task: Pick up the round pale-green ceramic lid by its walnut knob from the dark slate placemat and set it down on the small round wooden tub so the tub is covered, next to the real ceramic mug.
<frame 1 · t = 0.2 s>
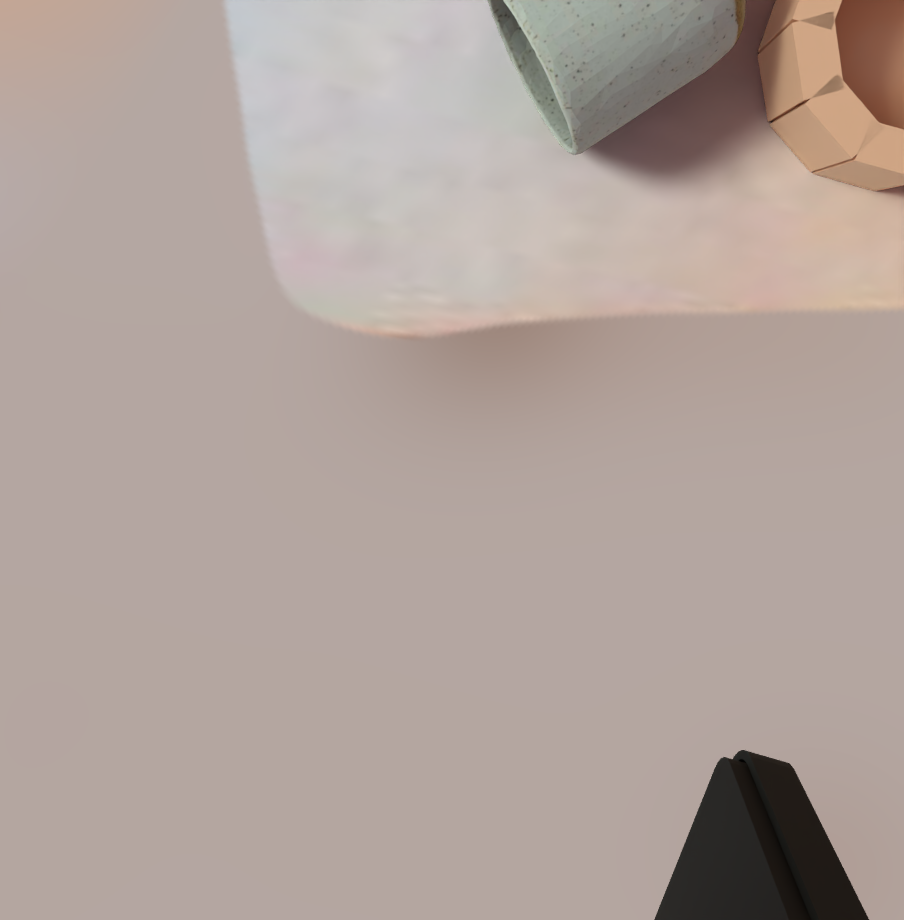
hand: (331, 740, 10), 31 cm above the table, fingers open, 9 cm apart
ceramic mug: (585, 19, 36), on the table
round wooden tub: (894, 51, 35), on the table
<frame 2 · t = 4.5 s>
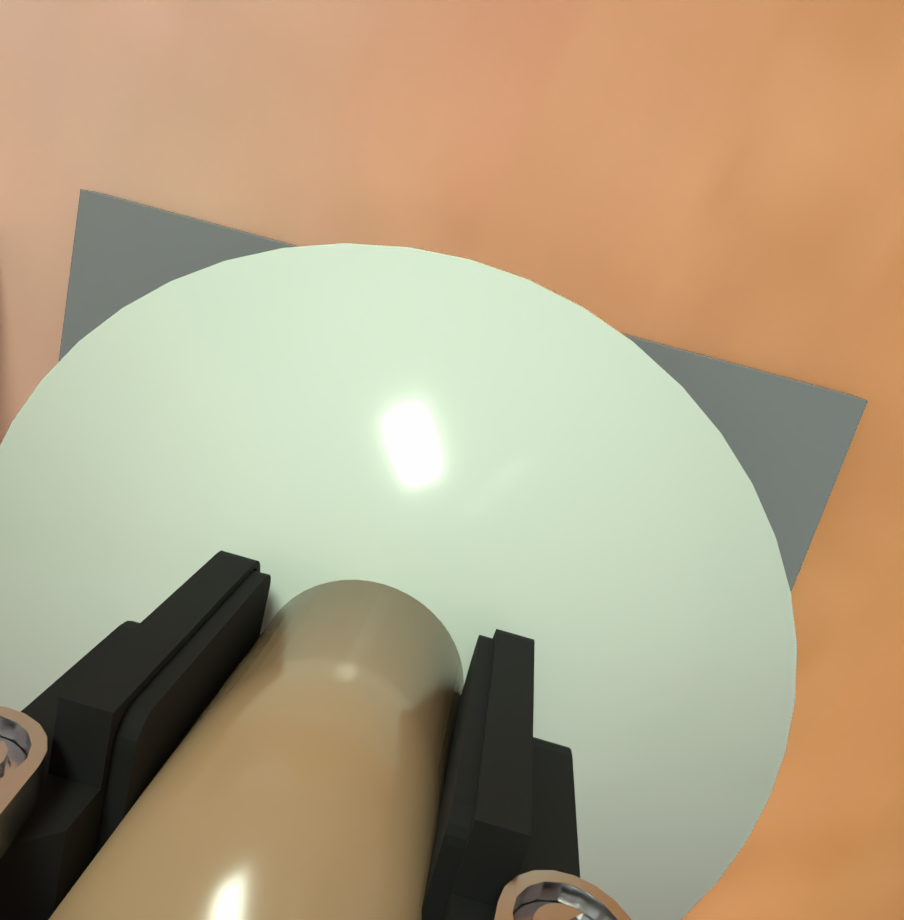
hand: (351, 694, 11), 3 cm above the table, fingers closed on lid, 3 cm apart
lid: (383, 622, 13), resting on placemat, touching gripper
placemat: (386, 612, 14), on the table
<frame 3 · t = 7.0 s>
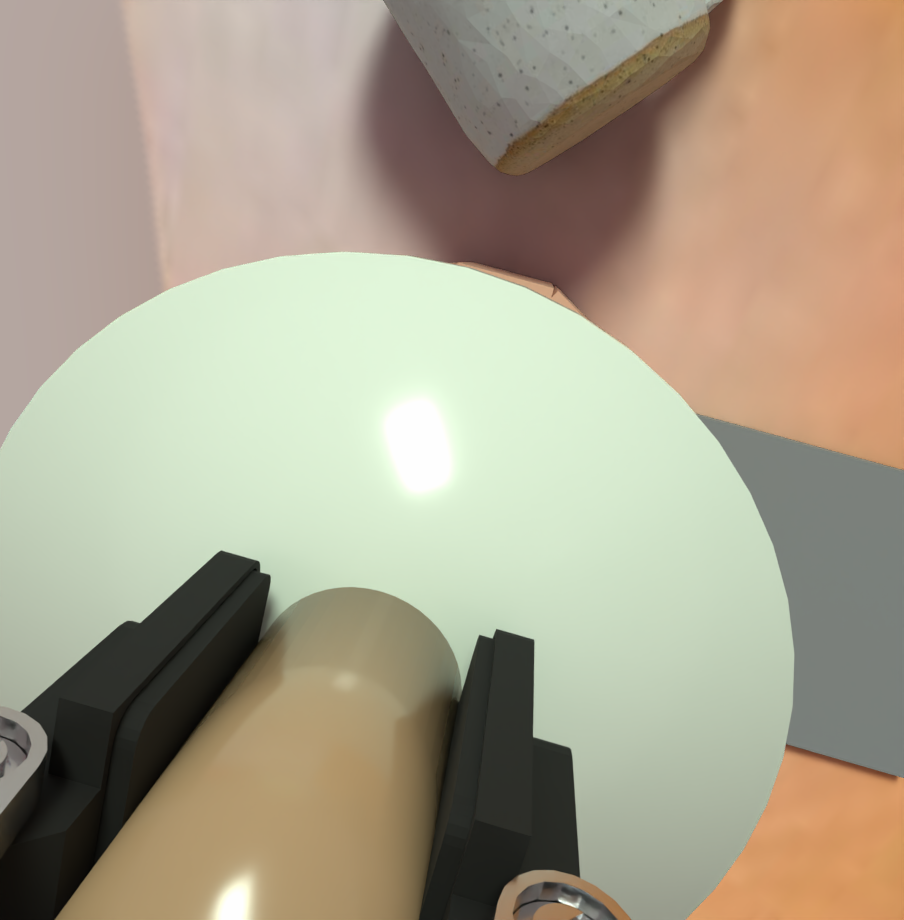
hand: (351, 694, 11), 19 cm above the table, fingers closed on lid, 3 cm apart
lid: (381, 628, 13), point 16 cm above the table, touching gripper
placemat: (795, 598, 29), on the table
round wooden tub: (471, 424, 29), on the table
when the fingers open (7 cm above the table, at t = 9.6 s): lid stays where it is, resting on round wooden tub.
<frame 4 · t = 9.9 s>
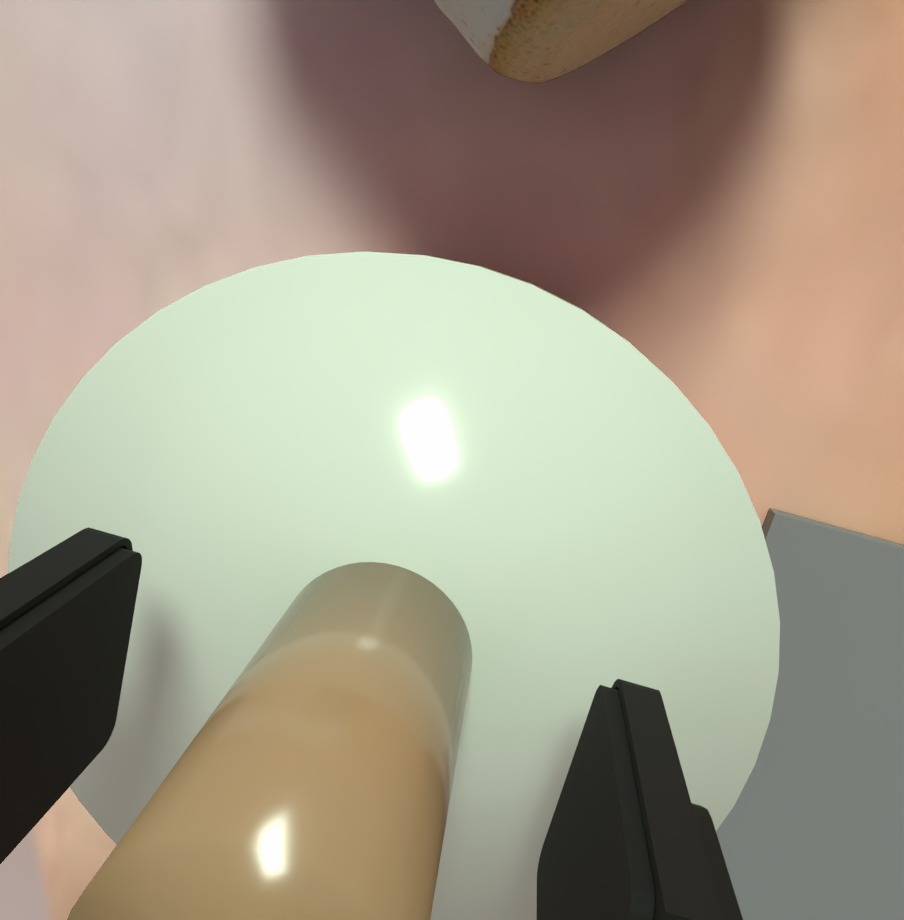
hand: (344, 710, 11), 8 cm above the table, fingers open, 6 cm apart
lid: (395, 605, 14), point 4 cm above the table, touching round wooden tub
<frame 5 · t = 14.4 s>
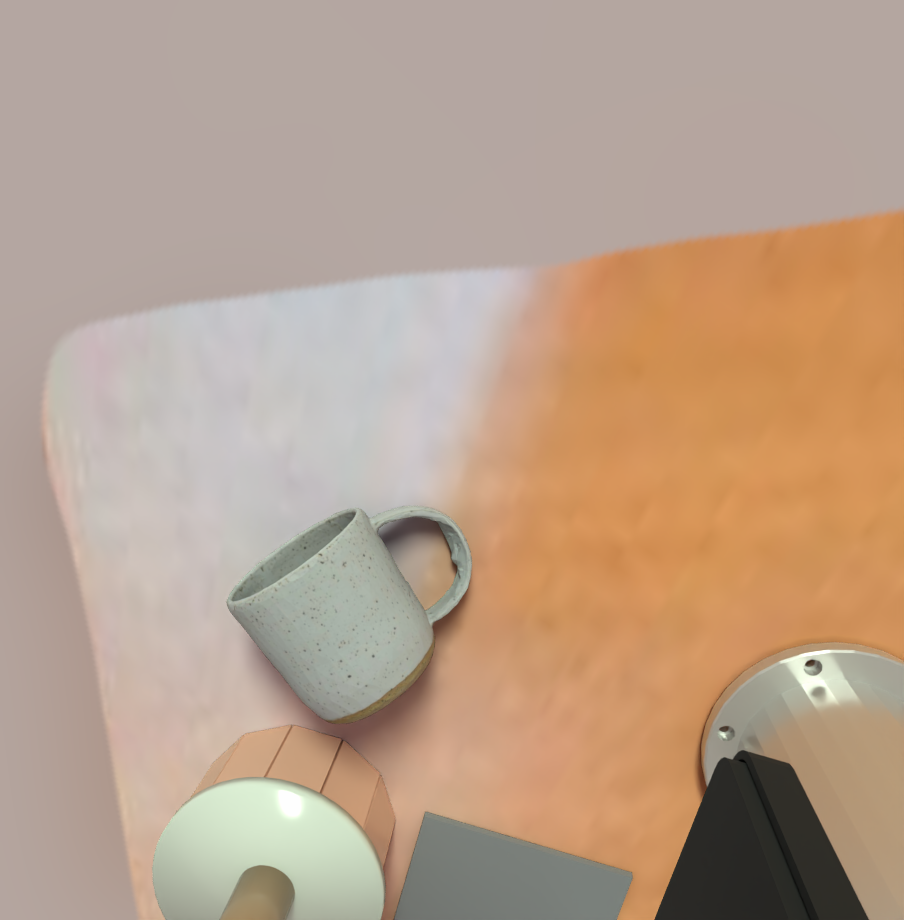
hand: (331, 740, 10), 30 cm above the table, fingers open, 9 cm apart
lid: (277, 864, 43), point 4 cm above the table, touching round wooden tub
ceramic mug: (373, 569, 43), on the table
placemat: (502, 918, 47), on the table
round wooden tub: (298, 812, 46), on the table
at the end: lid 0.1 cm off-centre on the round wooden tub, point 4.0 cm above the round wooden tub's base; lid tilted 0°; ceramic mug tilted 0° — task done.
